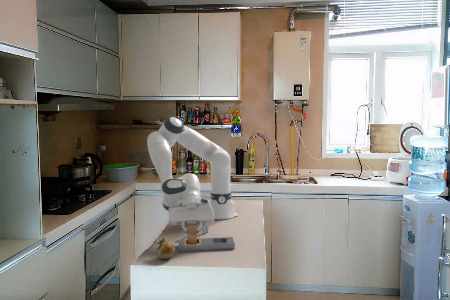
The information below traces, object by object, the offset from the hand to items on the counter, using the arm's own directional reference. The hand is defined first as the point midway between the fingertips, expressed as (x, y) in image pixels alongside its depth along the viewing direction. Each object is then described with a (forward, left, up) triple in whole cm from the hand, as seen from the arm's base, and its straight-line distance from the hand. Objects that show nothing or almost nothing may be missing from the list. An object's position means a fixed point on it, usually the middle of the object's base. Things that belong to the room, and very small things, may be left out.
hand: (192, 231), depth 165 cm
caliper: (-15, 0, -8) cm, 17 cm away
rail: (-1, +6, -7) cm, 9 cm away
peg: (-1, 0, -6) cm, 6 cm away
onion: (+10, -11, -7) cm, 17 cm away
